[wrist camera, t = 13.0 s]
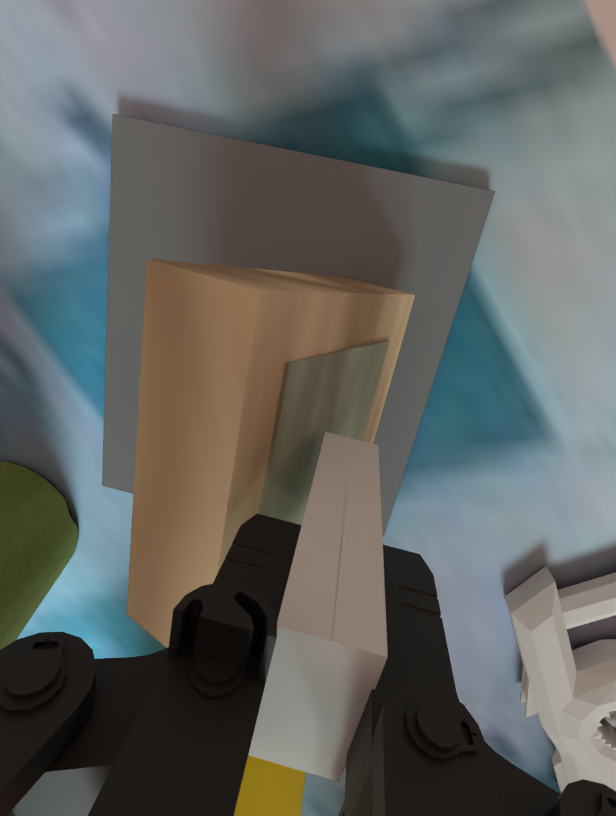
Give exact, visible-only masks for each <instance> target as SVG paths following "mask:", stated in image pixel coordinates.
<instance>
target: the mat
mask: <svg viewBox="0 0 616 816" xmlns="http://www.w3.org/2000/svg"><path fill="white" fill-rule="evenodd" d="M494 193H495V191H490V190H485V189H480V188H475V187H470V186H465V185H460V184H455V183H450V182H446V181H441V180H436V179H431V178H426V177H421V176H416V175H411V174H406V173H401V172H396V171H391V170H386V169H382V168H377V167H372V166H367V165H362V164H357V163H352V162H347V161H342V160H337V159H332V158H327V157H323V156H318V155H313V154H308V153H303V152H298V151H293V150H288V149H283V148H278V147H273V146H268V145H263V144H259V143H254V142H249V141H244V140H239V139H234V138H229V137H224V136H219V135H214V134H209V133H204V132H199V131H195V130H190V129H185V128H180V127H175V126H170V125H165V124H160V123H155V122H150V121H145V120H140V119H136V118H131V117H126V116H121V115H116V114H113V123H112V158H111V193H110V228H109V263H108V298H107V333H106V369H105V404H104V439H103V474H102V486H106V487H110V488H114V489H117V490H121V491H125V492H129V493H133V494H134V478H135V460H136V443H137V425H138V407H139V390H140V372H141V354H142V337H143V319H144V301H145V283H146V266H147V259H158V260H168V261H179V262H190V263H200V264H211V265H222V266H232V267H243V268H254V269H264V270H275V271H285V272H296V273H307V274H317V275H328V276H339V277H345V278H349V279H353V280H357V281H361V282H365V283H369V284H373V285H377V286H381V287H386V288H390V289H394V290H398V291H402V292H406V293H410V294H414V295H415V297H414V301H413V304H412V308H411V311H410V315H409V319H408V322H407V326H406V329H405V333H404V336H403V340H402V343H401V347H400V351H399V354H398V358H397V361H396V365H395V368H394V372H393V375H392V379H391V383H390V386H389V390H388V393H387V397H386V400H385V404H384V407H383V411H382V414H381V418H380V422H379V425H378V429H377V432H376V436H375V439H374V443H373V444H376V445H379V468H380V491H381V515H382V538H383V536H384V533H385V530H386V527H387V524H388V521H389V518H390V515H391V512H392V508H393V505H394V502H395V499H396V496H397V493H398V490H399V487H400V484H401V481H402V478H403V474H404V471H405V468H406V465H407V462H408V459H409V456H410V453H411V450H412V447H413V444H414V440H415V437H416V434H417V431H418V428H419V425H420V422H421V419H422V416H423V413H424V410H425V406H426V403H427V400H428V397H429V394H430V391H431V388H432V385H433V382H434V379H435V376H436V372H437V369H438V366H439V363H440V360H441V357H442V354H443V351H444V348H445V345H446V342H447V338H448V335H449V332H450V329H451V326H452V323H453V320H454V317H455V314H456V311H457V308H458V304H459V301H460V298H461V295H462V292H463V289H464V286H465V283H466V280H467V277H468V274H469V270H470V267H471V264H472V261H473V258H474V255H475V252H476V249H477V246H478V243H479V240H480V236H481V233H482V230H483V227H484V224H485V221H486V218H487V215H488V212H489V209H490V206H491V202H492V199H493V196H494Z"/></svg>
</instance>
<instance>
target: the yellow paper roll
mask: <svg viewBox="0 0 616 816" xmlns="http://www.w3.org/2000/svg"><path fill="white" fill-rule="evenodd" d="M305 776H306V772H304V771H300V770H297V769H294V768H290V767H287V766H283V765H280V764H277V763H273V762H270V761H267V760H263V759H260V758H256V757H253V756H250V755H248V758H247V763H246V767H245V771H244V775H243V779H242V783H241V787H240V792H239V796H238V800H237V804H236V808H235V812H234V816H301V808H302V800H303V792H304V784H305Z"/></svg>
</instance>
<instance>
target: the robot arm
mask: <svg viewBox="0 0 616 816" xmlns="http://www.w3.org/2000/svg"><path fill="white" fill-rule="evenodd" d="M440 614H441V612H440V607H439V602H438V600H437V592H436V587H435V582H434V576H433V574H432V572H431V571H430V569H429V568H428V566H427V564H426V563H425V561H424V560H423V558H422V557H421V555H420V554H416V553H412V552H409V551H405V550H401V549H397V548H393V547H390V546H386V545H383V538H382V515H381V491H380V468H379V445H376V444H372V443H368V442H364V441H360V440H356V439H352V438H348V437H344V436H340V435H336V434H332V433H328V432H325V435H324V439H323V443H322V447H321V451H320V455H319V459H318V463H317V467H316V471H315V475H314V479H313V482H312V486H311V490H310V494H309V498H308V502H307V506H306V510H305V514H304V518H303V522H302V525H299V524H295V523H292V522H288V521H284V520H280V519H276V518H273V517H269V516H265V515H261V514H255V515H254V516H253V517H251V518H250V519H249V520H247V521H246V522H245V523H243V524H242V525H241V526H240V528H239V530H238V532H237V534H236V536H235V538H234V540H233V542H232V546H231V547H230V549H229V551H228V553H227V555H226V557H225V560H224V561H223V563H222V565H221V567H220V570H219V572H218V574H217V576H216V578H215V580H214V582H213V584H208V585H203V586H201V587H199V588H197V589H195V590H193V591H192V592H190V593H188V594H186V595H185V596H184V597H183V598H182V600H181V601H180V602H179V603H178V604H177V605H176V607H175V608H174V609H173V616H172V624H171V632H170V640H169V647H168V648H166V649H164V650H162V651H159V652H156V653H153V654H150V655H145V656H138V657H128V658H105V659H94V654H93V650H92V649H91V648H90V647H89V646H88V645H87V644H86V643H85V642H84V641H83V640H82V639H81V638H79V637H76V636H73V635H70V634H67V633H64V632H44V633H38V634H34V635H31V636H28V637H25V638H21V639H18V640H16V641H14V642H12V643H11V644H9V645H7V646H6V647H4V648H2V649H1V650H0V816H234V812H235V808H236V804H237V800H238V796H239V792H240V787H241V783H242V779H243V775H244V771H245V767H246V763H247V758H248V755H250V756H253V757H256V758H260V759H263V760H267V761H270V762H273V763H277V764H280V765H283V766H287V767H290V768H294V769H297V770H300V771H304V772H307V773H310V774H314V775H317V776H321V777H324V778H327V779H331V780H334V781H338V782H339V781H340V779H341V776H342V774H343V771H344V768H345V766H346V785H345V801H344V803H343V806H342V808H341V811H340V813H339V815H338V816H616V791H615V790H613V789H611V788H610V787H608V786H606V785H605V784H601V783H597V782H593V781H589V780H585V779H582V780H579V781H576V782H572V783H569V784H567V786H566V787H565V788H564V790H563V791H562V793H561V794H559V793H558V792H556V791H554V790H553V789H551V788H550V787H548V786H546V785H545V784H543V783H542V782H540V781H538V780H537V779H535V778H534V777H532V776H530V775H529V774H527V773H526V772H524V771H522V770H521V769H519V768H518V767H516V766H514V765H513V764H511V763H510V762H508V761H507V760H506V759H504V758H503V757H502V756H500V755H499V754H498V753H496V752H495V751H494V750H493V749H492V748H491V747H490V746H489V745H488V744H487V743H486V742H485V741H484V739H483V736H482V734H481V731H480V728H479V726H478V724H477V723H476V721H475V720H474V718H473V717H472V716H471V714H470V713H469V712H468V710H467V709H466V708H465V706H464V705H463V704H462V703H461V702H459V699H458V696H457V693H456V689H455V683H454V678H453V673H452V668H451V663H450V658H449V653H448V648H447V643H446V638H445V632H444V627H443V622H442V618H440Z"/></svg>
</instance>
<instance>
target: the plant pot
mask: <svg viewBox="0 0 616 816" xmlns="http://www.w3.org/2000/svg"><path fill="white" fill-rule="evenodd" d="M77 541H78V530H77V525H76V524H75V523H74V522H73V520H72V519H71V517H70V514H69V511H68V508H67V504H66V500H65V499H64V497H63V496H62V495H61V494H60V492H59V491H58V490H57V489H56V488H55V487H54V486H53V485H52V484H51V483H49V482H48V481H47V480H46V479H44V478H43V477H41V476H40V475H39V474H37V473H35V472H33V471H31V470H29V469H27V468H25V467H23V466H20V465H17V464H13V463H10V462H1V461H0V650H1V649H2V648H4V647H6V646H7V645H9V644H11V643H12V642H14V641H16V639H17V638H18V636H19V635H20V633H21V632H22V630H23V629H24V627H25V626H26V624H27V623H28V621H29V620H30V618H31V617H32V615H33V614H34V612H35V611H36V609H37V608H38V606H39V605H40V604H41V602H42V601H43V599H44V598H45V596H46V595H47V593H48V592H49V590H50V589H51V587H52V586H53V584H54V583H55V581H56V580H57V578H58V577H59V575H60V574H61V572H62V571H63V569H64V568H65V566H66V565H67V563H68V562H69V560H70V559H71V557H72V556H73V554H74V552H75V549H76V546H77Z"/></svg>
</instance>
